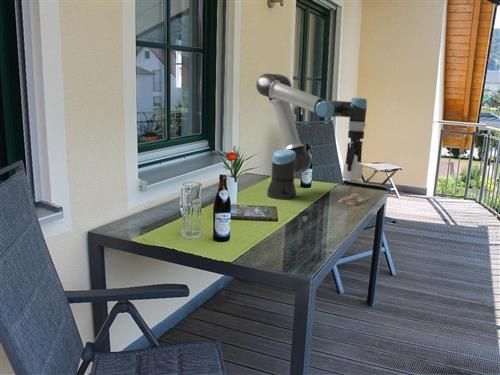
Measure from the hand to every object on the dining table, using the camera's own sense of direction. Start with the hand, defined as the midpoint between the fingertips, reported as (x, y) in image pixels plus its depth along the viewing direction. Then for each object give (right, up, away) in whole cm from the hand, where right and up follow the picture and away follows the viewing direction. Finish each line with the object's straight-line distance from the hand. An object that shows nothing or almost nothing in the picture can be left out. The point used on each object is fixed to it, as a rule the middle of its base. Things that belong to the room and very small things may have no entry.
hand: (352, 176), depth 245 cm
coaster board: (+3, -12, +8) cm, 15 cm away
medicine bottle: (0, -1, 0) cm, 1 cm away
